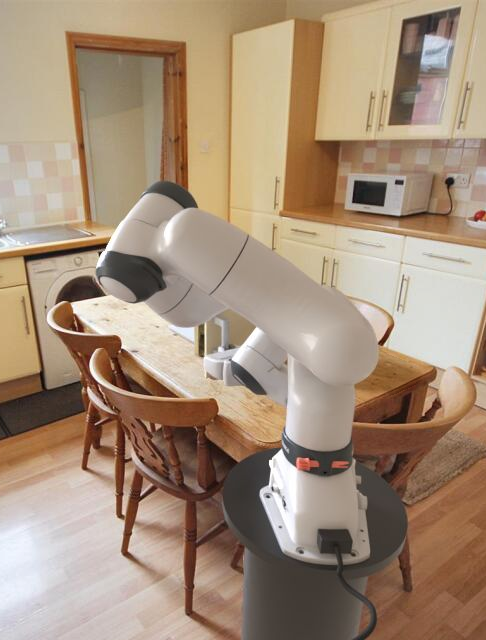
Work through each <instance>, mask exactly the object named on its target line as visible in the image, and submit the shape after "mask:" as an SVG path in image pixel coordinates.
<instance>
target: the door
mask: <svg viewBox="0 0 486 640" xmlns="http://www.w3.org/2000/svg"><path fill="white" fill-rule="evenodd" d="M255 328H256V326H255V325H253V324H252V323H251V322H250V321H248V320H247V319H245V318H244V317H242V316H241V315H239V314H238V313H236V312H234V311H233V310H231V309H230V308H229V309H227V310H225V311H223V312H221V313H219V314H218V315H216V316H215V317H213V318H212V319H210V320H209V321H207V322H206V323H205V335H204V355H209V354H213V353H218V347H221V346H224V347H226V350H229V345H230V344H236V345H239V346H242V345H243V344H244V343H245V341H246V340H247V339H248V337H249V336H250V335H251V334H252V332H253V331H254V330H255ZM204 378H205V379H210V378H214V377H213V376H212V375H210V374H209V373H208V372H207V371H206V370H205V369H204Z"/></svg>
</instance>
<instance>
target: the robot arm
mask: <svg viewBox="0 0 486 640" xmlns="http://www.w3.org/2000/svg"><path fill="white" fill-rule="evenodd" d="M94 272H95V277H96V278H97V281H98V283H99V284H100V286H101V287H102V288H103V289H104V290H105V291H106V292H107V293H108V294H110V295H111V296H112V297H114V298H116V299H118V300H120V301H123V302H125V303H128V304H133V305H134V304H140V303H144V304H145V305H146V306H147V307H149V309H150V310H151V311H152V312H154V313H156V314H157V315H158V316H159V317H160V318H162V319H163V320H165V321H166V322H167V323H169V324H171V325H172V326H174V327H176V328H180V329H190V328H194V327H195V326H199V325H201V324H204V323H206V322H207V321H209V320H210V319H212V318H213V317H215V316H216V315H218V314H219V313H221V312H223V311H225V310H227V309H229V308H230V309H231V310H233V311H234V312H236V313H238V314H239V315H241V316H242V317H244V318H245V319H247V320H248V321H250V322H251V323H252V324H253V325H255V326H256V328H255V330H254V331H253V332H252V334H251V335H250V336H249V337H248V339H247V340H246V341H245V343H244V344H243V345H242V346H239V345H236V344H230V345H229V350H226V347H224V346H221V347H218V353H213V354H209V355H205V354H204V355H205V356H203V369H204V371H205V370H206V371H207V372H208V373H209V374H210V375H212V376H213V377H212V378H214V379H217V380H219V381H223V385H225V386H226V387H245V388H246V389H248V390H249V391H250V392H252V394H254V395H256V396H265V398H267V399H269V400H270V401H272V402H274V403H275V404H277V405H280V406H281V407H284V408H286V415H285V424H284V426H283V428H282V432H281V439H280V440H281V447H282V449H281V450H280V451H279V452H278V453H277V454H276V455H275V456H274V457H273V458H272V461H271V460H270V462H269V465H270V467H271V474H270V483H269V485H268V486H266V487H264V488H262V489H261V490H260V494H259V496H260V499H261V501H262V504H263V506H264V509H265V511H266V513H267V516H268V518H269V521H270V523H271V526H272V528H273V531H274V533H275V535H276V538H277V540H278V543H279V545H280V548H281V550H282V552H283V553H284V554H286V555H288V556H290V557H292V558H294V559H297V560H300V561H304V562H308V563H314V564H324V565H338V569H337V571H336V575H337V578H338V580H339V582H340V583H341V585H342V586H343V587H344V588H345V589H346V590H347V591H348V592H349V593H351V594H352V595H353V596H355V597H356V598H358V599H359V600H361V601H362V602H363V603H364V604H363V605H365V606H366V607H367V608H368V610H369V613H370V619H369V623H368V626H366V628H365V629H364V630H363V631H362V632H361V633H360V632H359V633H358V636H356V637H355V638H353V639H352V640H366V639H368V638H369V637H370V636H371V635H372V634H373V632H374V630H375V629H376V628H377V627H376V626H377V623H378V615H377V609H376V607H375V606H374V604H373V602H372V601H371V600H370V599H369V598H368V597H366V595H365V596H363V595H362V594H360V593H359V592H357V591H356V590H355V589H353V588H352V587H351V586H350V585H349V584H348V583H347V582H346V581H345V580H344V578H343V576H342V572H343V565H349V564H355V563H359V562H362V561H365V560H366V559H368V558H369V557H370V545H369V537H368V529H367V521H366V514H365V510H367V497H366V496H363V495H362V494H361V493H360V492H359V490H357V488H356V484H361V476H356V475H355V462H356V461H357V460H356V459H355V458H354V457H353V456H354V439H353V438H354V437H353V435H352V434H353V425H354V417H355V410H356V404H357V394H356V387H355V385H356V384H358V383H359V384H360V383H361V382H363V381H364V380H366V379H367V378H368V377H369V376H370V375H371V374H372V373H373V372H374V371H375V369H376V367H377V366H378V363H379V359H380V345H379V343H378V338H377V335H376V332H375V329H374V327H373V325H372V324H371V322H370V321H369V320H368V319H367V318H366V316H365V315H364V314H363V313H362V312H361V311H360V310H359V309H358V308H357V306H356V305H355V304H354V303H353V302H352V301H351V299H349V297H348V296H347V295H346V294H345V293H343V291H341V290H340V289H337V288H334V287H332V286H329V285H324V284H320V283H318V282H317V281H316V280H314V279H313V278H311V277H310V276H309V275H308V274H307V273H305V272H304V271H303V270H301V269H300V268H299V267H297V266H296V265H295V264H294V263H292V261H290V260H288V259H286V258H285V257H283V256H282V255H281V254H279V253H278V252H276V251H275V250H273V249H272V248H270V247H268V246H267V245H265V244H264V243H263V242H262V241H259V240H258V239H256V238H255V237H254V236H252V235H250V234H249V233H248V232H246V231H244V230H243V229H241V228H240V227H238V226H236V225H235V224H233V223H231V222H230V221H227V220H226V219H223V218H221V217H219V216H217V215H216V214H213V213H211V212H208V211H206V210H203V209H201V208H199V205H198V203H197V201H196V199H195V197H194V195H192V194H191V192H190V191H188V190H187V188H185V187H184V186H182V185H180V184H179V183H176V182H173V181H168V180H159V181H156V182H153V184H151V185H150V186H149V187H148V188H147V189H145V191H144V192H143V193H142V194H141V195H140V199H139V200H138V201H137V202H136V204H135V205H134V206H133V207H132V208H131V210H130V211H129V212H128V213H127V215H126V216H125V217H124V219H123V220H122V221H120V222H119V224H118V226H117V227H116V228H115V231H114V233H113V234H112V236H111V237H110V240H109V242H108V243H107V245H106V248H105V250H104V251H102V252H101V254H100V256H99V258H98V261H97V264H96V267H95V271H94ZM286 362H287V364H286ZM300 553H302V554H300ZM353 556H354V557H353Z"/></svg>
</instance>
